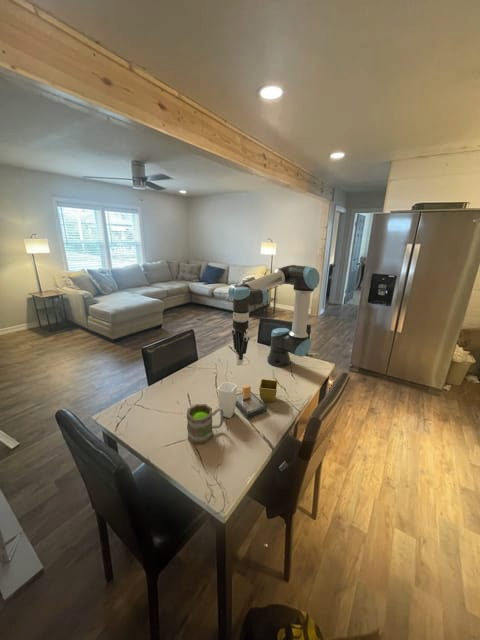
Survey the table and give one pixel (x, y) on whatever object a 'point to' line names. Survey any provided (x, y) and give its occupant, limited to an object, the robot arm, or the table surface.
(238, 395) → the panel
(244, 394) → the paddle
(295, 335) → the robot arm
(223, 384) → the cup
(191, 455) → the table surface
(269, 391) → the flower pot
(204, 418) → the mug
